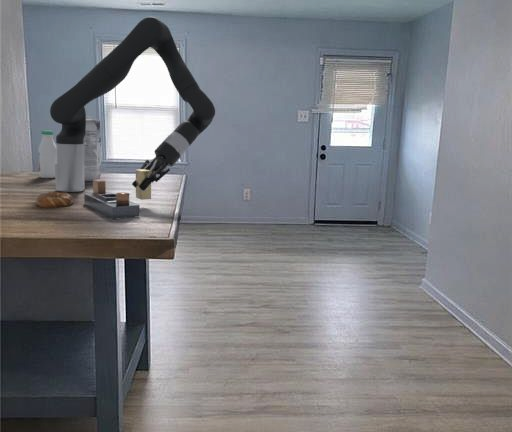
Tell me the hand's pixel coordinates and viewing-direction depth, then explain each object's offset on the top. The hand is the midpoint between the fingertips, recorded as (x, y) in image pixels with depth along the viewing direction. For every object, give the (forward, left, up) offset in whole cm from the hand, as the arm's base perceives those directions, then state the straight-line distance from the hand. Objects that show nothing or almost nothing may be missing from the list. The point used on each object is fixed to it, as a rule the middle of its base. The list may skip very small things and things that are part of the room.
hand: (137, 187), depth 145 cm
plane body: (-7, -5, -7) cm, 11 cm away
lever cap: (+2, +1, -4) cm, 4 cm away
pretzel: (-26, 0, -7) cm, 27 cm away
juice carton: (-33, +55, -7) cm, 64 cm away
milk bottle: (-50, +57, -7) cm, 76 cm away
